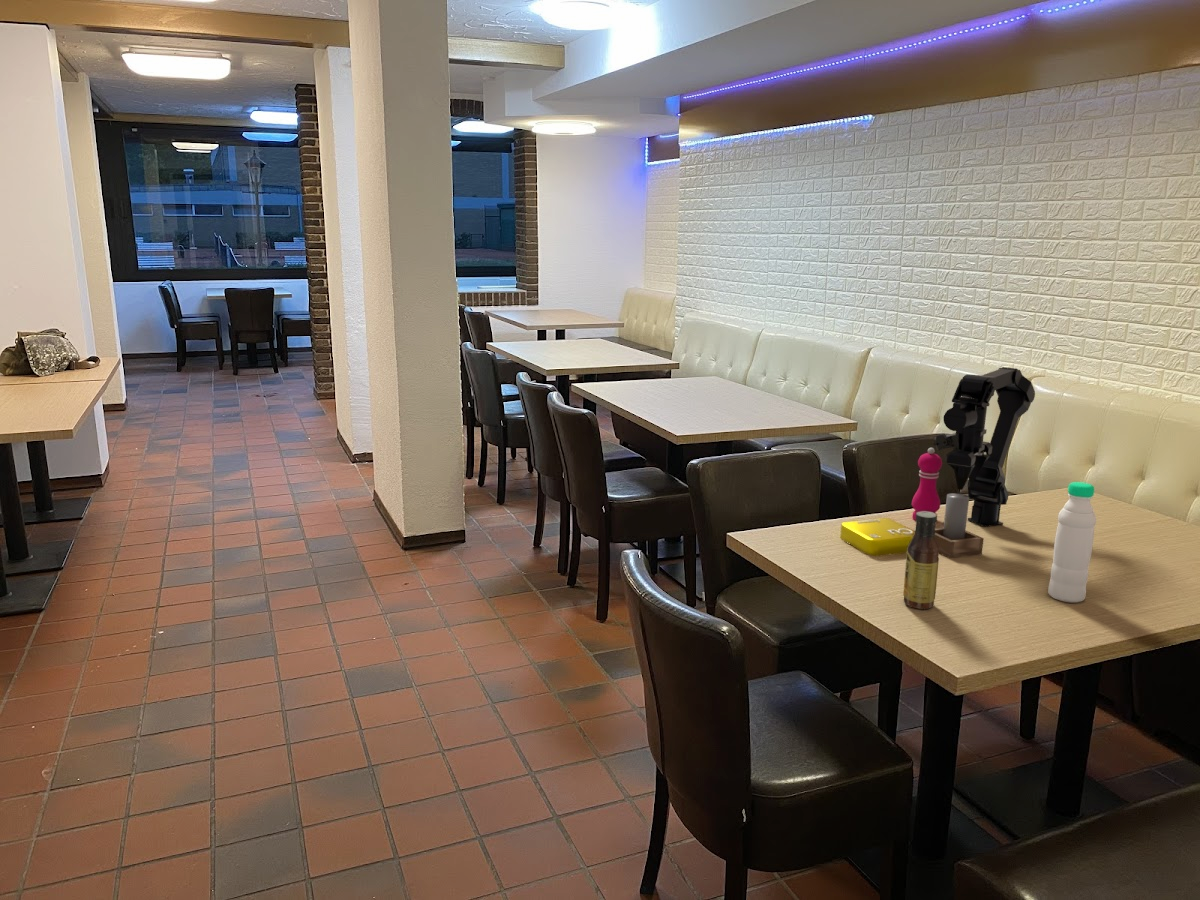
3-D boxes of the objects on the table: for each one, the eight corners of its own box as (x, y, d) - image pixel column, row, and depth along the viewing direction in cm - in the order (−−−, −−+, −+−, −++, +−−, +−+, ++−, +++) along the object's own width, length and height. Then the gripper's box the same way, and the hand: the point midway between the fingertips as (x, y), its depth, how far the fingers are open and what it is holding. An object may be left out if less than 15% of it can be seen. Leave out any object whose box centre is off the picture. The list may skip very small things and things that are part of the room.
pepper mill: (934, 516, 246) (941, 445, 241) (941, 524, 239) (949, 451, 234) (907, 515, 247) (914, 444, 242) (913, 523, 240) (920, 450, 235)
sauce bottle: (909, 596, 191) (917, 506, 186) (938, 604, 187) (948, 512, 182) (897, 605, 186) (905, 513, 181) (927, 613, 182) (936, 520, 177)
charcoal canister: (960, 542, 222) (966, 494, 219) (965, 549, 217) (971, 499, 214) (939, 541, 222) (944, 493, 219) (944, 548, 217) (949, 498, 215)
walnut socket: (954, 541, 226) (956, 526, 225) (981, 554, 217) (983, 538, 216) (923, 545, 223) (924, 529, 222) (949, 558, 214) (951, 542, 213)
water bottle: (1083, 606, 186) (1100, 490, 181) (1045, 599, 190) (1061, 485, 184) (1086, 595, 192) (1102, 482, 186) (1049, 588, 196) (1064, 477, 190)
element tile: (887, 533, 233) (889, 515, 232) (924, 552, 219) (926, 533, 218) (836, 538, 228) (838, 520, 227) (870, 558, 214) (872, 539, 213)
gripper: (951, 415, 236) (945, 473, 240) (927, 426, 222) (921, 487, 226) (995, 421, 230) (989, 480, 233) (973, 433, 215) (966, 495, 219)
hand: (965, 485), depth 228 cm, fingers open, 9 cm apart
